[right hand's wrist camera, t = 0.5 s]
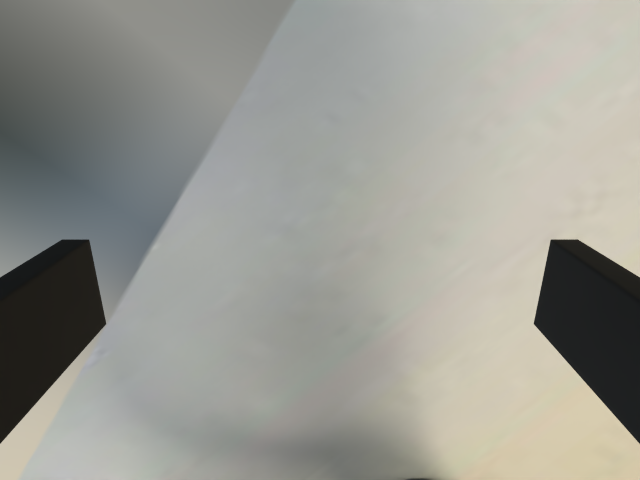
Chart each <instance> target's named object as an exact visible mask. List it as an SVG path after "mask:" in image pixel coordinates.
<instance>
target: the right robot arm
mask: <svg viewBox="0 0 640 480" xmlns="http://www.w3.org/2000/svg"><path fill="white" fill-rule="evenodd" d="M105 325H106V321H105V316H104V311H103V306H102V301H101V296H100V291H99V286H98V281H97V276H96V271H95V266H94V261H93V256H92V251H91V246H90V242H89V240H61V241H59V242H58V243H56V244H54V245H53V246H51V247H49V248H48V249H46V250H45V251H43V252H41V253H40V254H38V255H36V256H35V257H33V258H31V259H30V260H28V261H26V262H25V263H23V264H22V265H20V266H18V267H17V268H15V269H13V270H12V271H10V272H8V273H7V274H5V275H4V276H2V277H0V443H1V442H2V441H3V440H4V439H5V438H6V437H7V435H8V434H9V433H10V432H11V431H12V430H13V429H14V428H15V426H16V425H17V424H18V423H19V422H20V421H21V420H22V418H23V417H24V416H25V415H26V414H27V413H28V412H29V411H30V409H31V408H32V407H33V406H34V405H35V404H36V403H37V402H38V400H39V399H40V398H41V397H42V396H43V395H44V394H45V392H46V391H47V390H48V389H49V388H50V387H51V386H52V385H53V383H54V382H55V381H56V380H57V379H58V378H59V377H60V376H61V374H62V373H63V372H64V371H65V370H66V369H67V368H68V366H69V365H70V364H71V363H72V362H73V361H74V360H75V359H76V357H77V356H78V355H79V354H80V353H81V352H82V351H83V350H84V348H85V347H86V346H87V345H88V344H89V343H90V342H91V340H92V339H93V338H94V337H95V336H96V335H97V334H98V333H99V331H100V330H101V329H102V328H103V327H104V326H105ZM534 325H535V326H536V327H537V328H538V329H539V330H540V331H541V333H542V334H543V335H544V336H545V337H546V338H547V339H548V340H549V342H550V343H551V344H552V345H553V346H554V347H555V348H556V350H557V351H558V352H559V353H560V354H561V355H562V356H563V357H564V359H565V360H566V361H567V362H568V363H569V364H570V365H571V366H572V368H573V369H574V370H575V371H576V372H577V373H578V374H579V376H580V377H581V378H582V379H583V380H584V381H585V382H586V383H587V385H588V386H589V387H590V388H591V389H592V390H593V391H594V392H595V394H596V395H597V396H598V397H599V398H600V399H601V400H602V402H603V403H604V404H605V405H606V406H607V407H608V408H609V409H610V411H611V412H612V413H613V414H614V415H615V416H616V417H617V418H618V420H619V421H620V422H621V423H622V424H623V425H624V426H625V428H626V429H627V430H628V431H629V432H630V433H631V434H632V435H633V437H634V438H635V439H636V440H637V441H638V442H639V443H640V277H638V276H636V275H635V274H633V273H632V272H630V271H628V270H627V269H625V268H623V267H622V266H620V265H618V264H617V263H615V262H614V261H612V260H610V259H609V258H607V257H605V256H604V255H602V254H600V253H599V252H597V251H596V250H594V249H592V248H591V247H589V246H587V245H586V244H584V243H582V242H581V241H579V240H551V242H550V246H549V251H548V256H547V261H546V266H545V271H544V276H543V281H542V286H541V291H540V296H539V301H538V306H537V311H536V316H535V321H534Z"/></svg>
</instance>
